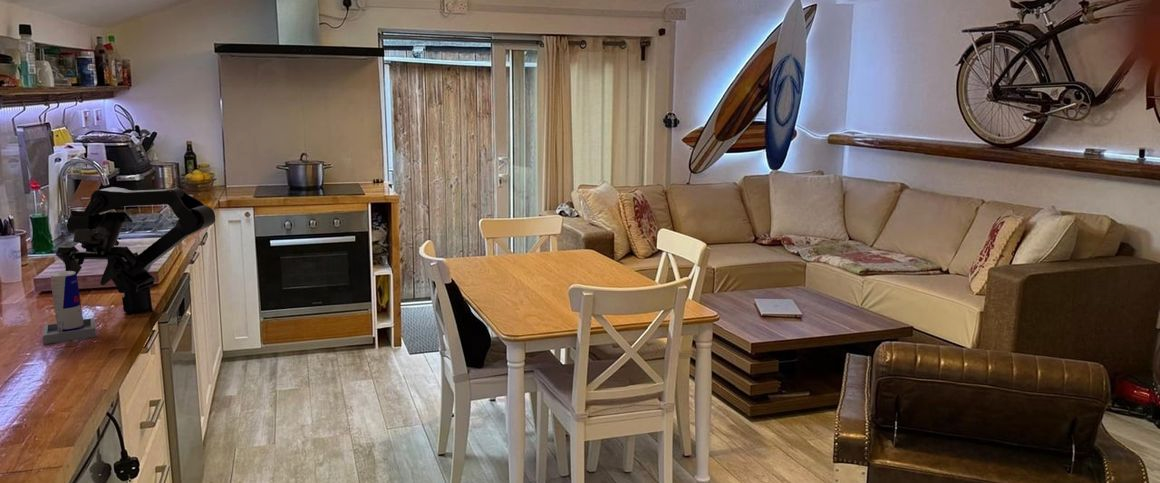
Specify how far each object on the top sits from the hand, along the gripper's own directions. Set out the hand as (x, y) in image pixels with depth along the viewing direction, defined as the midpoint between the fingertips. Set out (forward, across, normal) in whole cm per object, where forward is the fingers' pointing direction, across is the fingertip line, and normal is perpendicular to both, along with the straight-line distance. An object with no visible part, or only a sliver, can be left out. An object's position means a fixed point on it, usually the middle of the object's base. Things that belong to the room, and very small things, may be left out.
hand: (84, 284), depth 214 cm
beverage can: (+12, 0, +2) cm, 13 cm away
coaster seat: (+13, 0, +2) cm, 13 cm away
